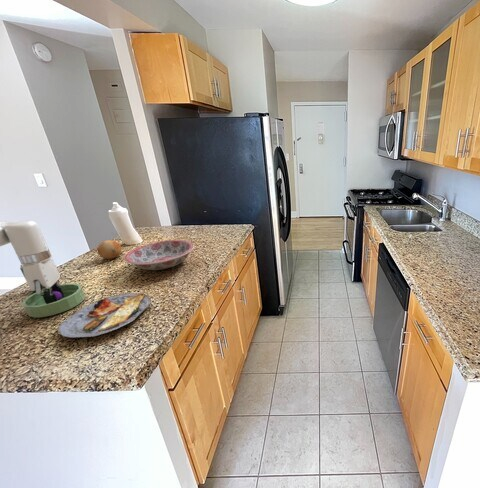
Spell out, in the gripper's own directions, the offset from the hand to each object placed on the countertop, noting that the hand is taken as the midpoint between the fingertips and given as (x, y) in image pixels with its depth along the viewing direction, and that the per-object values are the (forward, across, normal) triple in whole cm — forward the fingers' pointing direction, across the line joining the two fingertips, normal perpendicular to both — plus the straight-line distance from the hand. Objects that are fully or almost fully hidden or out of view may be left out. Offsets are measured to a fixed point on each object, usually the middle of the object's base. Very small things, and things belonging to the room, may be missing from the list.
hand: (56, 300), depth 97 cm
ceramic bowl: (+2, -22, +33) cm, 40 cm away
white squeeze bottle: (+2, -65, +11) cm, 66 cm away
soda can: (+2, -18, -12) cm, 22 cm away
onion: (+2, -43, +7) cm, 44 cm away
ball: (-2, 0, 0) cm, 2 cm away
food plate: (+2, +17, +20) cm, 26 cm away
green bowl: (+2, 0, 0) cm, 2 cm away
